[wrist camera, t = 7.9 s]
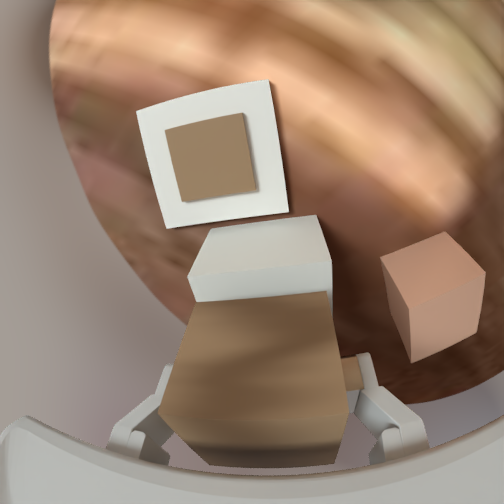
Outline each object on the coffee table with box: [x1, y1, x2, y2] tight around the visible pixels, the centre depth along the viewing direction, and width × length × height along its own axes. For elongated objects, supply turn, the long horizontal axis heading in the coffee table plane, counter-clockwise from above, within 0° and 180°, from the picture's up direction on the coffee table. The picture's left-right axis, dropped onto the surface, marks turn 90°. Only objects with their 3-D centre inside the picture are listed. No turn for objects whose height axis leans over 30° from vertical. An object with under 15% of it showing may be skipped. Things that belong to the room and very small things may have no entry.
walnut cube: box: [157, 291, 349, 468], centre depth 9 cm, size 5×5×5 cm
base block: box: [187, 215, 333, 314], centre depth 15 cm, size 6×6×5 cm
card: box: [136, 79, 289, 229], centre depth 13 cm, size 7×7×1 cm
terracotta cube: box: [380, 231, 486, 363], centre depth 14 cm, size 5×5×5 cm
